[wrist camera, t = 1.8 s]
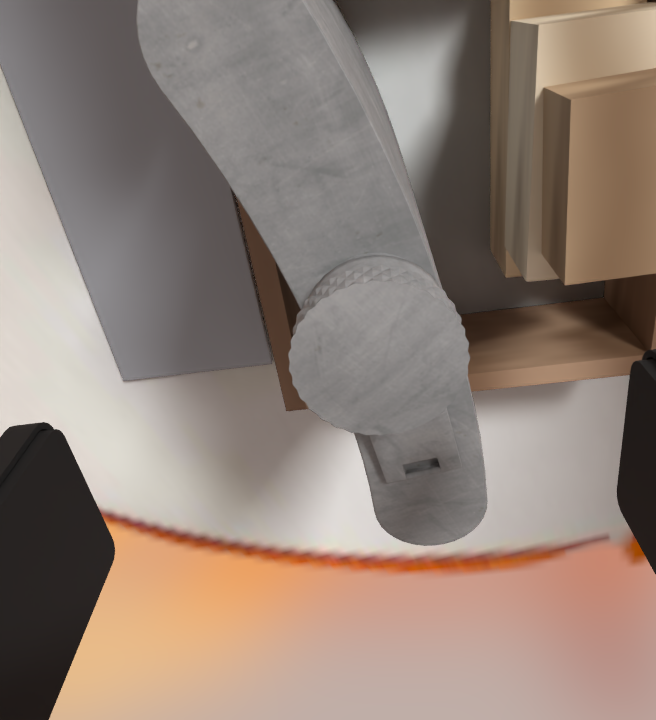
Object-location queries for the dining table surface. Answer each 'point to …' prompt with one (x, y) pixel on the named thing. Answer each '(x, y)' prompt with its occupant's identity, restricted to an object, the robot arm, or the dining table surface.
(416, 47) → the dining table surface
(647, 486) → the robot arm
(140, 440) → the dining table surface
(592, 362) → the wooden tray
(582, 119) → the offcut top
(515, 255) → the offcut mid
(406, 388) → the hip flask
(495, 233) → the offcut base
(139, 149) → the felt pad
